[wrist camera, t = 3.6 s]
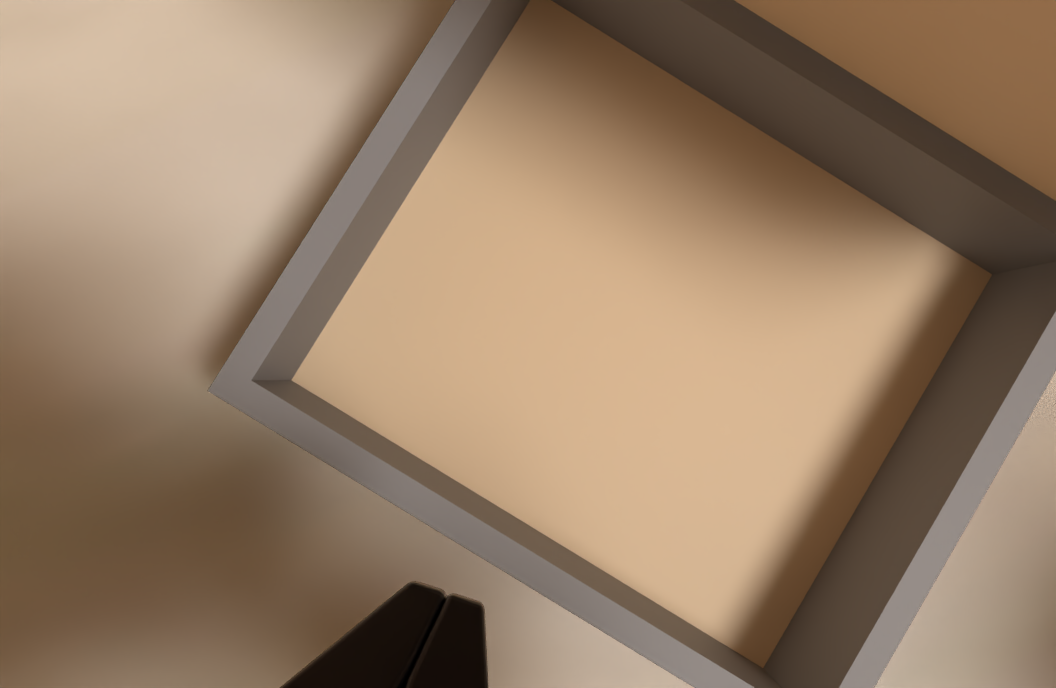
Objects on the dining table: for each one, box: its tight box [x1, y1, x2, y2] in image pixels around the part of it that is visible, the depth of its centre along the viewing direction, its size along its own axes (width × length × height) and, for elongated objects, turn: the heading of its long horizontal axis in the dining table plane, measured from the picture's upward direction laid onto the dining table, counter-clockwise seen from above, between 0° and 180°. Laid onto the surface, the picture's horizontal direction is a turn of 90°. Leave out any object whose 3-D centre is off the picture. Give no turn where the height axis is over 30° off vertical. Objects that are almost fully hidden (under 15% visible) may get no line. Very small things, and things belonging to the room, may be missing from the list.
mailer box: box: [208, 0, 1056, 688], centre depth 19 cm, size 12×14×4 cm
